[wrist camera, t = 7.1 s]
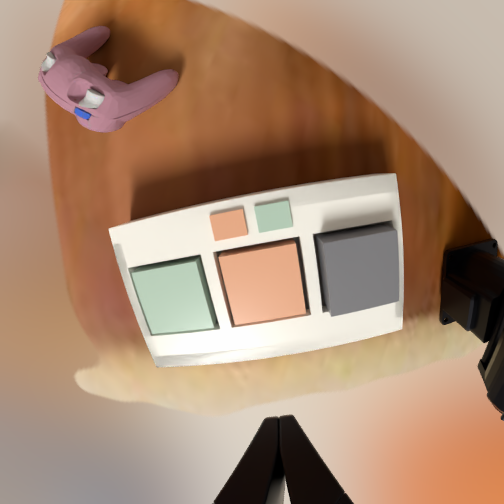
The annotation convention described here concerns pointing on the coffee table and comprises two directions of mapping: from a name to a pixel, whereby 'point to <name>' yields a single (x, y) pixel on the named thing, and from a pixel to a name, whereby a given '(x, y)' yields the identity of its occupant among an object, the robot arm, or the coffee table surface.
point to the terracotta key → (263, 281)
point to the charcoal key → (359, 268)
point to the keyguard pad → (254, 232)
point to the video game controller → (98, 84)
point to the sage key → (175, 295)
